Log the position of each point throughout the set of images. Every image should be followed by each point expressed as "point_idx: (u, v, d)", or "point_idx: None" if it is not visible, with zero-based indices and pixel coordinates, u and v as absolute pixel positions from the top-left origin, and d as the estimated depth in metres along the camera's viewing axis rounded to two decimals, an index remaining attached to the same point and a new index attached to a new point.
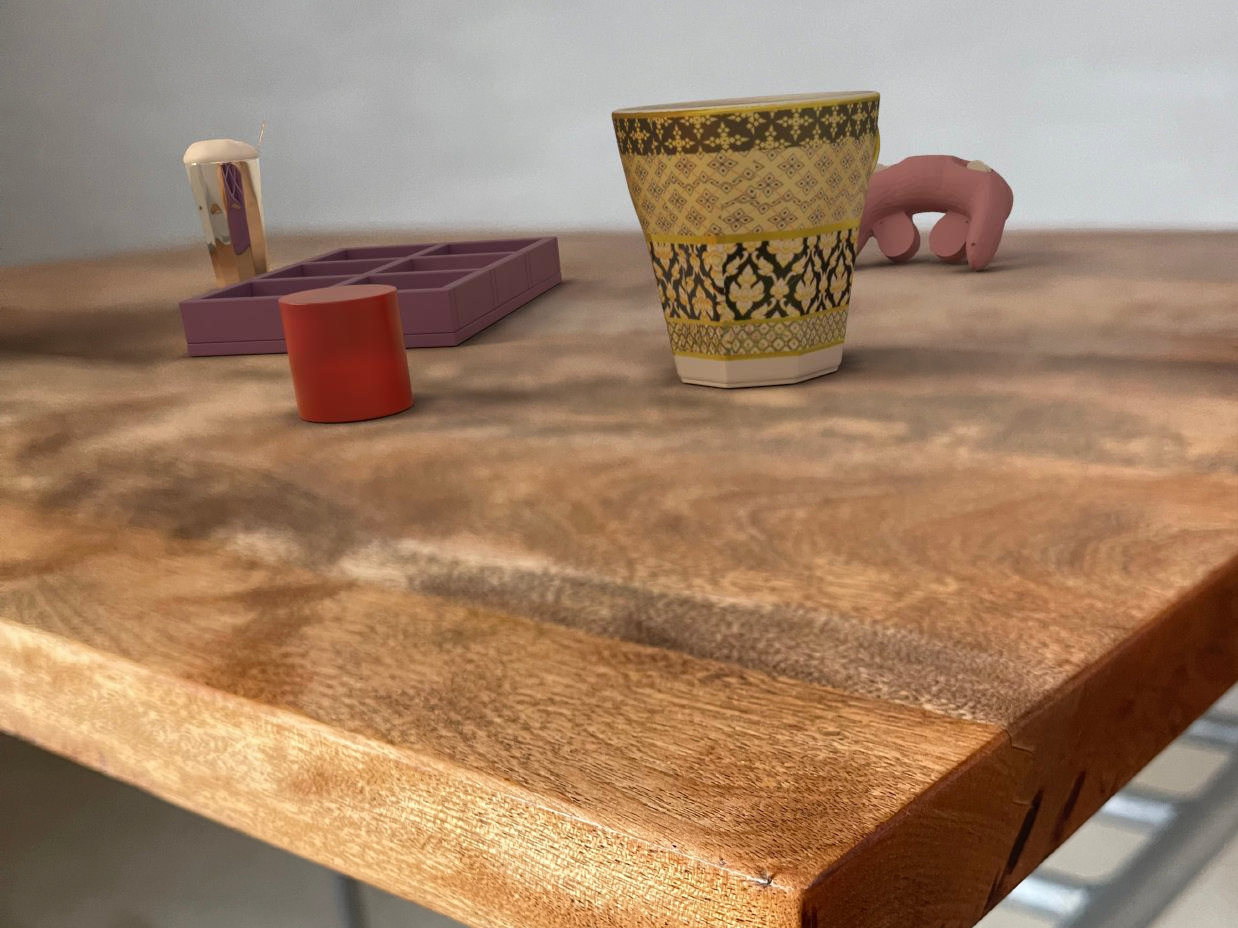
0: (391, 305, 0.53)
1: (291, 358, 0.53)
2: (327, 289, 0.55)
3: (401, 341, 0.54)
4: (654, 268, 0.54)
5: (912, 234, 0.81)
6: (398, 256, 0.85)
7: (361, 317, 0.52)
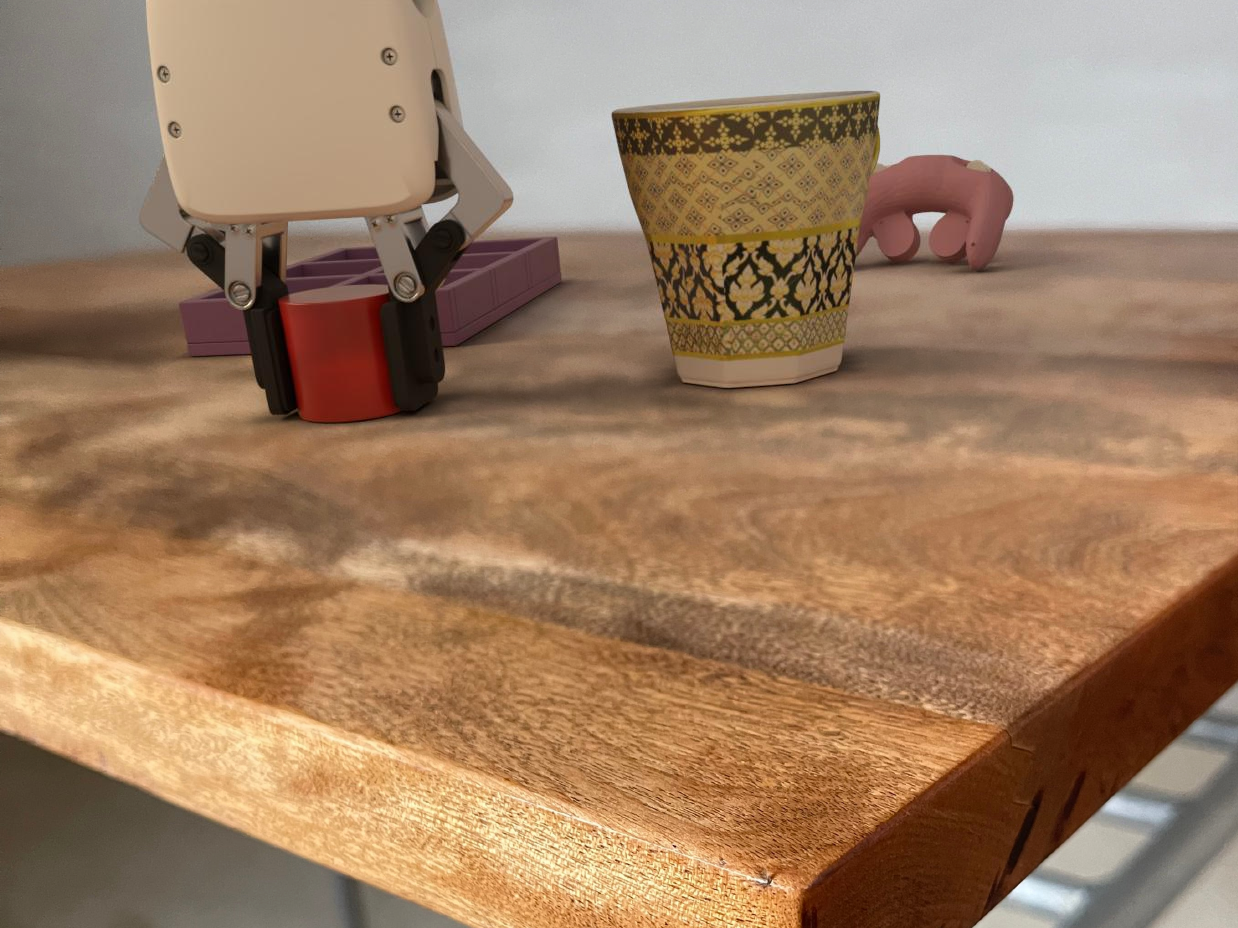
0: None
1: (291, 358, 0.53)
2: (327, 289, 0.55)
3: None
4: (654, 268, 0.54)
5: (912, 234, 0.81)
6: None
7: (361, 317, 0.52)
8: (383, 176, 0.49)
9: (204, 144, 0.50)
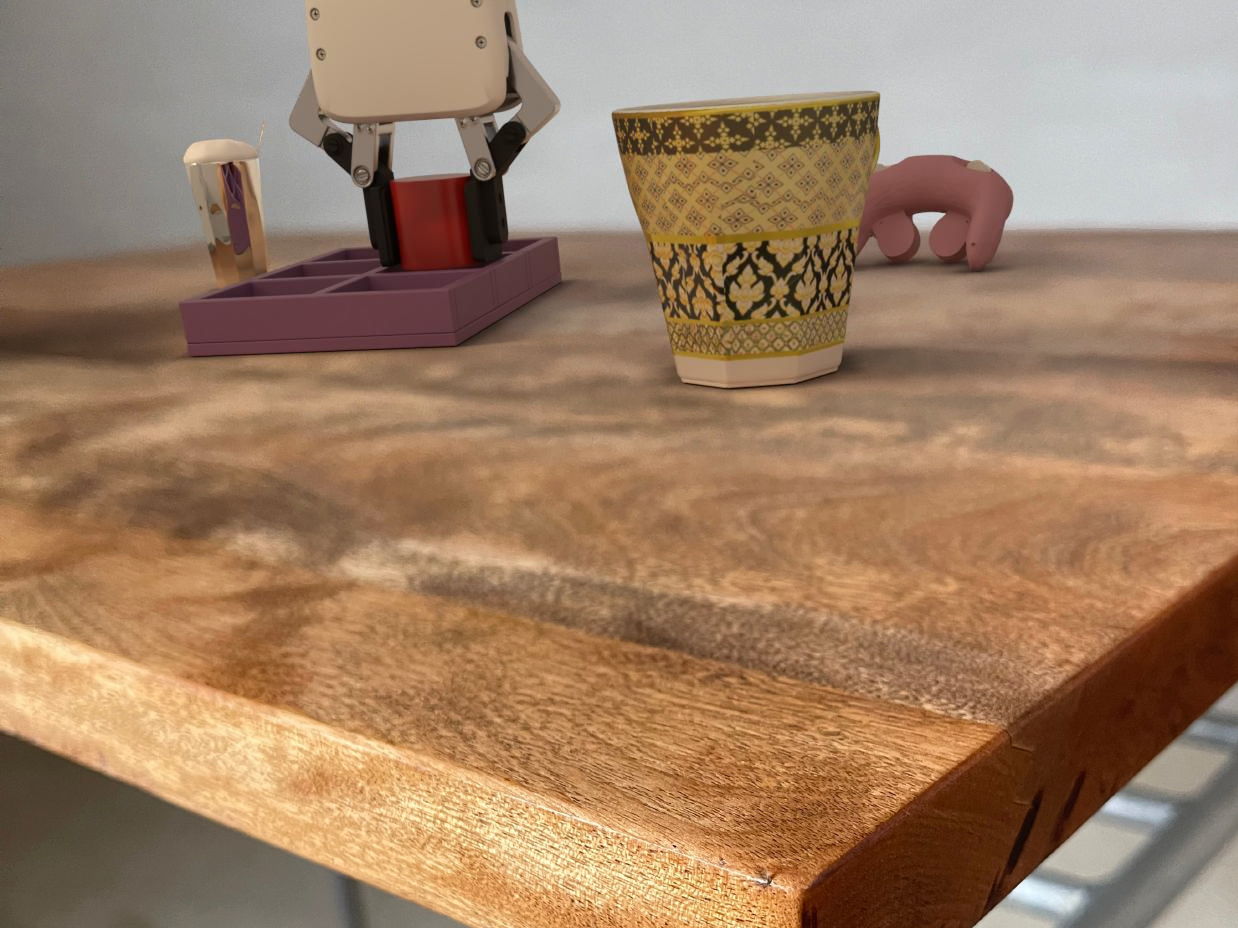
0: None
1: (398, 223, 0.74)
2: (422, 176, 0.75)
3: None
4: (654, 268, 0.54)
5: (912, 234, 0.81)
6: None
7: (450, 192, 0.73)
8: (470, 87, 0.70)
9: (341, 64, 0.70)
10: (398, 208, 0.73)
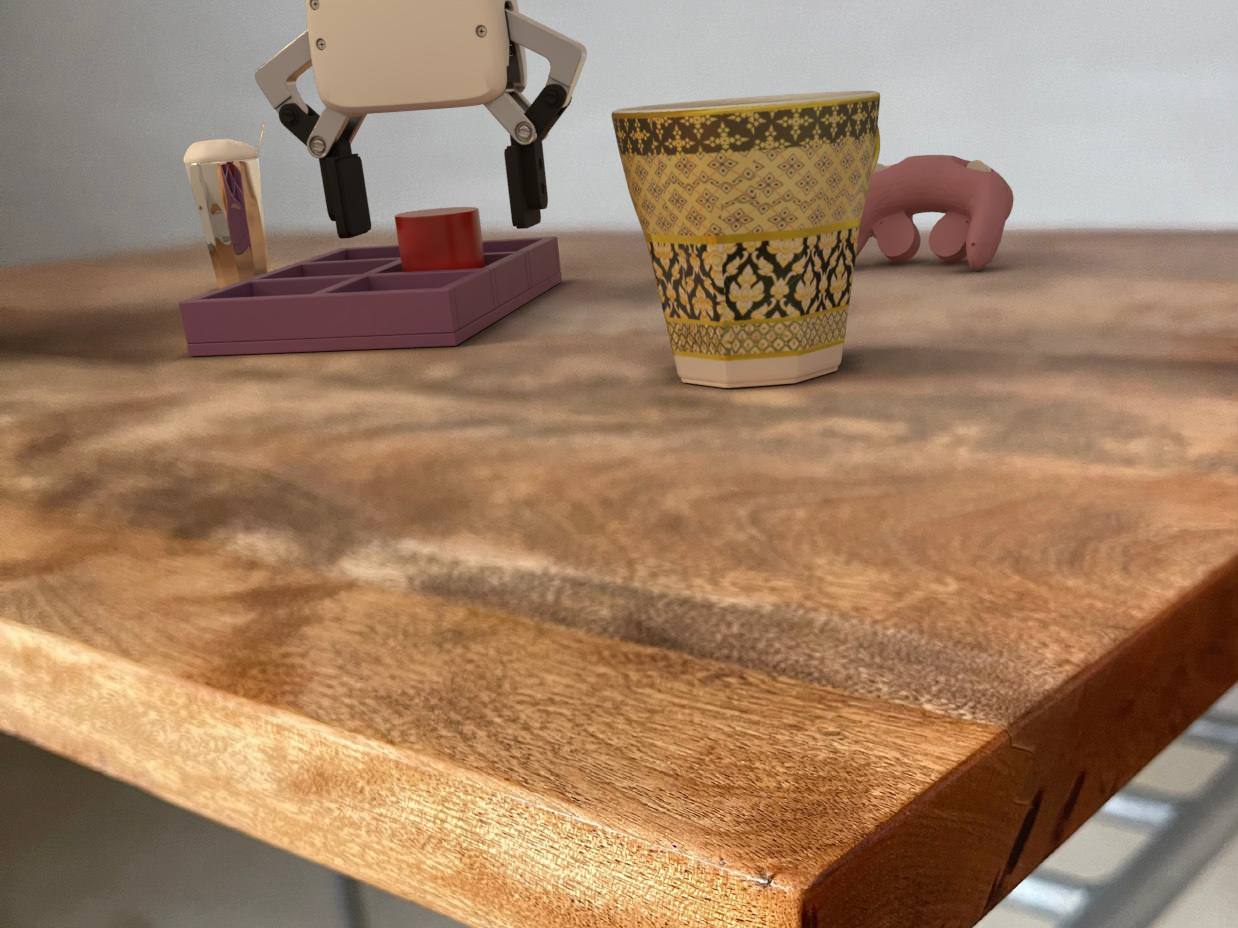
0: (475, 219, 0.74)
1: (403, 258, 0.74)
2: (427, 210, 0.76)
3: (481, 247, 0.75)
4: (654, 268, 0.54)
5: (912, 234, 0.81)
6: (398, 256, 0.85)
7: (455, 227, 0.73)
8: (470, 76, 0.70)
9: (341, 54, 0.70)
10: (403, 243, 0.74)
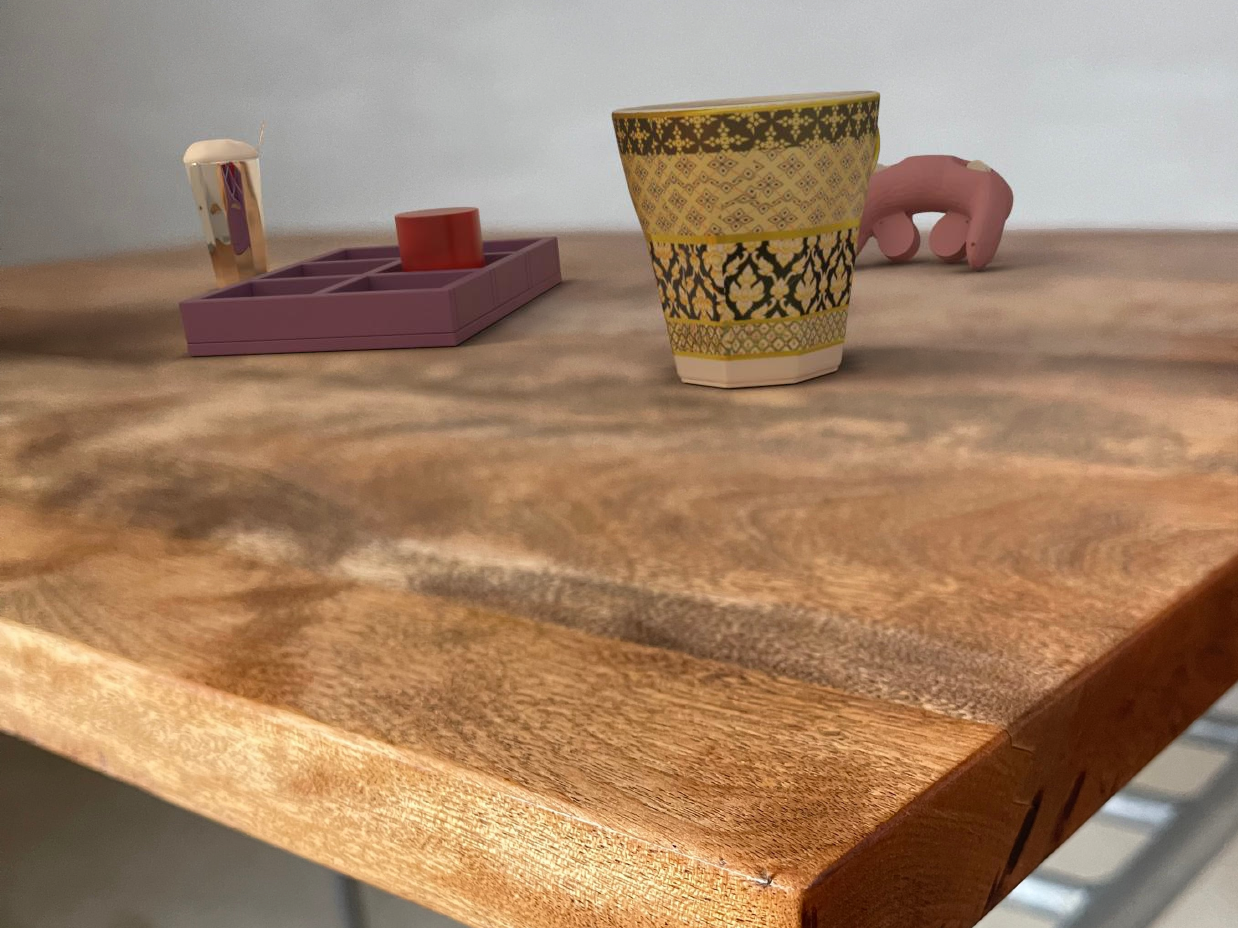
0: (475, 219, 0.74)
1: (403, 258, 0.74)
2: (427, 210, 0.76)
3: (481, 247, 0.75)
4: (654, 268, 0.54)
5: (912, 234, 0.81)
6: (398, 256, 0.85)
7: (455, 227, 0.73)
8: None
9: None
10: (403, 243, 0.74)
